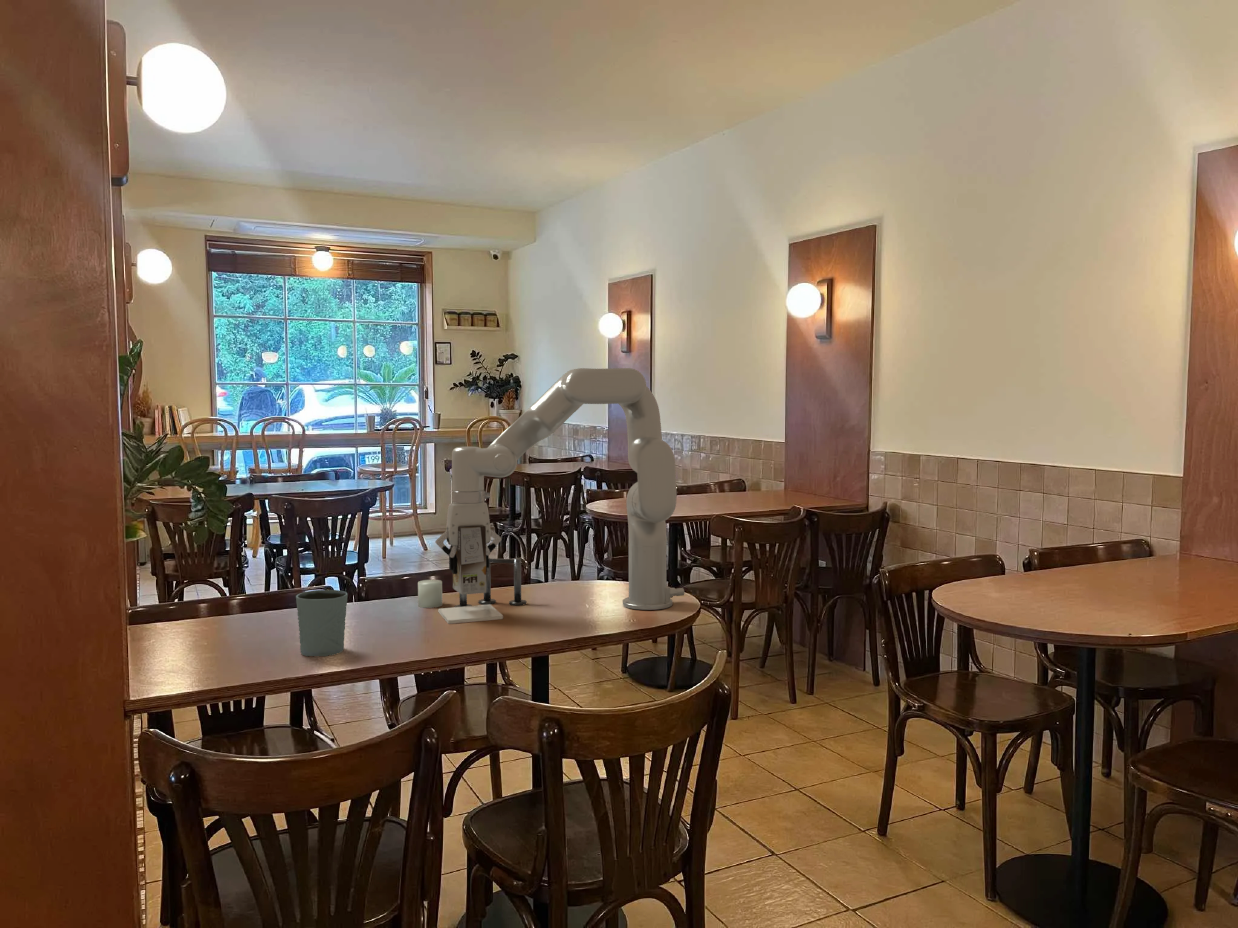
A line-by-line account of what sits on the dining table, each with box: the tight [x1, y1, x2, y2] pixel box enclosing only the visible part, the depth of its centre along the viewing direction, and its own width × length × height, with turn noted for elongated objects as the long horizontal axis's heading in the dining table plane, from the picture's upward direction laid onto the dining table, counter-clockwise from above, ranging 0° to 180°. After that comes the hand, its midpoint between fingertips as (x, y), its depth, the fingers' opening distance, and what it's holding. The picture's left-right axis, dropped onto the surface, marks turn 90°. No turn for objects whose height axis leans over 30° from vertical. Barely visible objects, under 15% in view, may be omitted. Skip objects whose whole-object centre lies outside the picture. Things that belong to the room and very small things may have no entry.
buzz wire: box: [453, 557, 527, 608], centre depth 234 cm, size 18×8×12 cm, turn 111°
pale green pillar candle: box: [417, 579, 443, 609], centre depth 234 cm, size 6×6×6 cm
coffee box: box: [452, 525, 486, 595], centre depth 222 cm, size 9×6×16 cm
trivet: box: [437, 604, 504, 625], centre depth 223 cm, size 13×13×1 cm
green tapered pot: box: [295, 589, 349, 657], centre depth 191 cm, size 10×10×12 cm
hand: (469, 571), depth 222 cm, fingers closed on coffee box, 6 cm apart
